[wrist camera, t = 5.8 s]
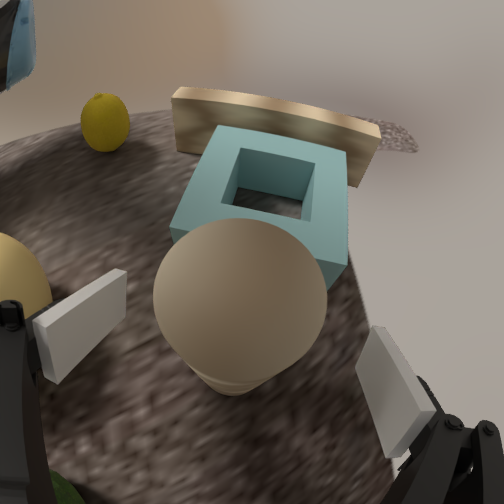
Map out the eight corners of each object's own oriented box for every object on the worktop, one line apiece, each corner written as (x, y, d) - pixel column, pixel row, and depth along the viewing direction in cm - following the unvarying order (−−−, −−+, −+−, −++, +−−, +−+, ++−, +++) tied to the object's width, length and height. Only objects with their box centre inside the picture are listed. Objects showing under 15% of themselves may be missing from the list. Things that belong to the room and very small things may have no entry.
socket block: (178, 262, 23) (169, 227, 19) (217, 163, 29) (218, 124, 25) (324, 294, 22) (347, 265, 18) (330, 187, 29) (345, 151, 24)
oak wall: (177, 151, 30) (171, 97, 24) (184, 138, 31) (180, 86, 25) (357, 187, 29) (381, 138, 23) (356, 173, 30) (378, 125, 24)
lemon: (110, 172, 27) (90, 112, 21) (84, 157, 29) (64, 103, 22) (144, 143, 30) (133, 85, 23) (116, 131, 31) (103, 79, 24)
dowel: (194, 387, 18) (130, 350, 6) (209, 330, 20) (184, 205, 8) (256, 401, 18) (315, 393, 6) (268, 343, 20) (332, 236, 8)
